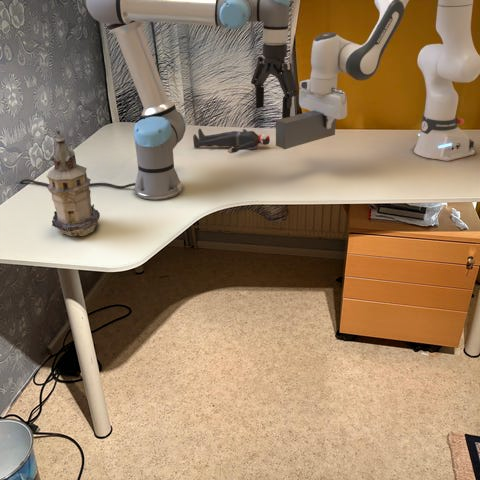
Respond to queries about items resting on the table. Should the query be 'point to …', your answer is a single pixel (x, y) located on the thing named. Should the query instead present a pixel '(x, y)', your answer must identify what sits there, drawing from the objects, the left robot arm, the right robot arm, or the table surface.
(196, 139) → the toy
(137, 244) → the table surface
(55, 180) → the miniature building
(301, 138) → the bar
